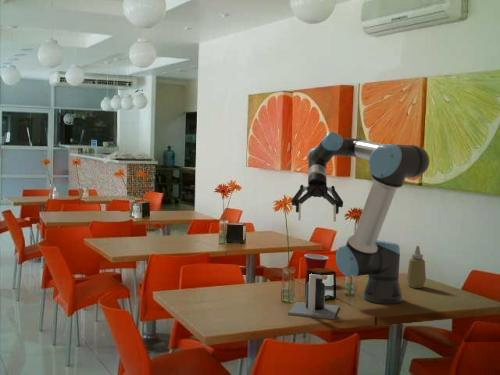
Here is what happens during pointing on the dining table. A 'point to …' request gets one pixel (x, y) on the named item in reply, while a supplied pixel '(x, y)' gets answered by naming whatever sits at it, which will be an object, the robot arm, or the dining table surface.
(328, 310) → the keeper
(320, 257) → the plastic cup
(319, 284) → the supplement bottle
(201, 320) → the dining table surface
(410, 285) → the squeeze bottle
